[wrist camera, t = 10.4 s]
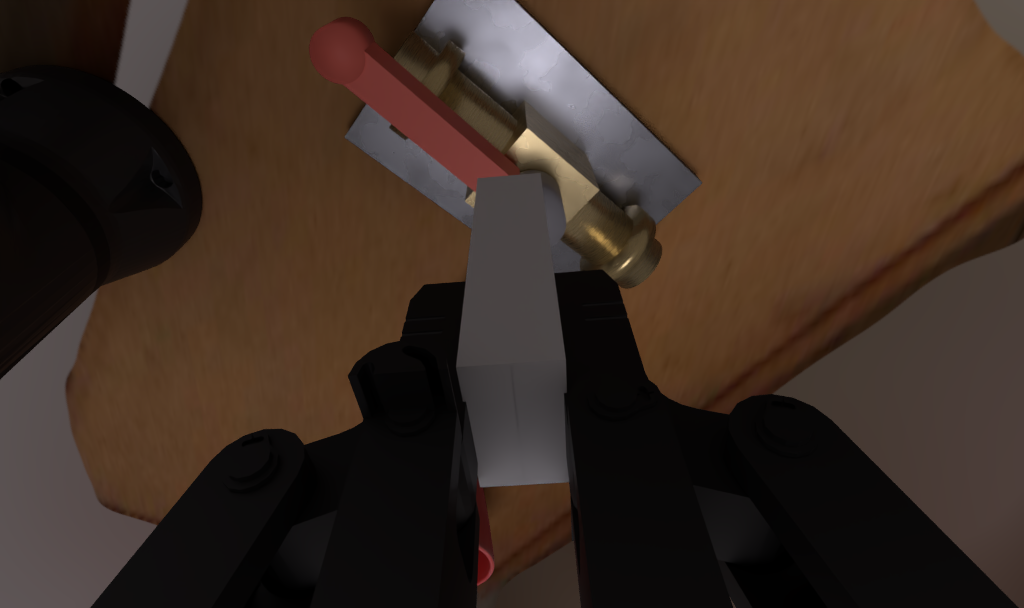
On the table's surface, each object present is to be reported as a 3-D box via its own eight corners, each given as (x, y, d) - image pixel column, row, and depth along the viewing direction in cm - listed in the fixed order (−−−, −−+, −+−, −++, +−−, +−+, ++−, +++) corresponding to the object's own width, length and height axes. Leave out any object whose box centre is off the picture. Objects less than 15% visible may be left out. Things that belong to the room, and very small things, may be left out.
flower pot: (390, 470, 61) (373, 550, 53) (479, 451, 59) (475, 532, 51) (425, 519, 67) (414, 598, 59) (507, 504, 65) (507, 583, 57)
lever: (533, 234, 34) (535, 262, 31) (312, 53, 28) (289, 68, 25) (573, 195, 33) (579, 222, 30) (349, -5, 26) (329, 4, 23)
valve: (349, 130, 38) (319, 169, 32) (467, -48, 32) (457, -41, 26) (569, 290, 46) (578, 346, 40) (696, 175, 40) (730, 220, 34)
